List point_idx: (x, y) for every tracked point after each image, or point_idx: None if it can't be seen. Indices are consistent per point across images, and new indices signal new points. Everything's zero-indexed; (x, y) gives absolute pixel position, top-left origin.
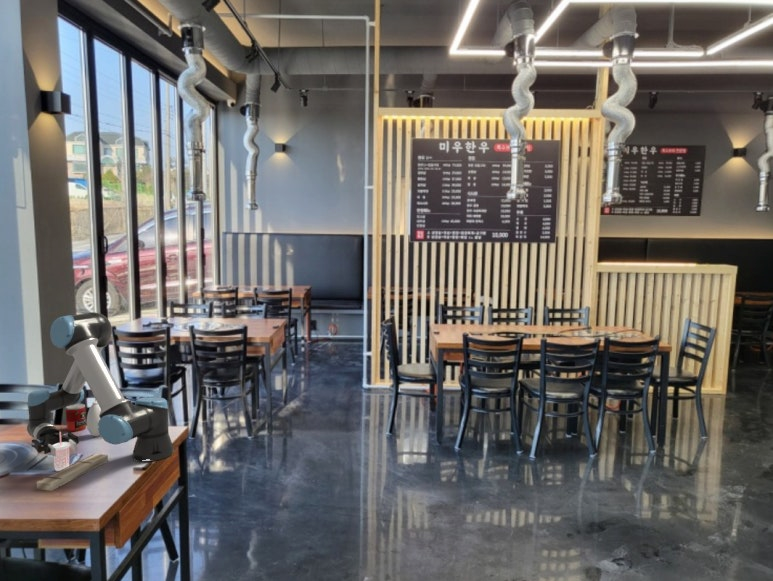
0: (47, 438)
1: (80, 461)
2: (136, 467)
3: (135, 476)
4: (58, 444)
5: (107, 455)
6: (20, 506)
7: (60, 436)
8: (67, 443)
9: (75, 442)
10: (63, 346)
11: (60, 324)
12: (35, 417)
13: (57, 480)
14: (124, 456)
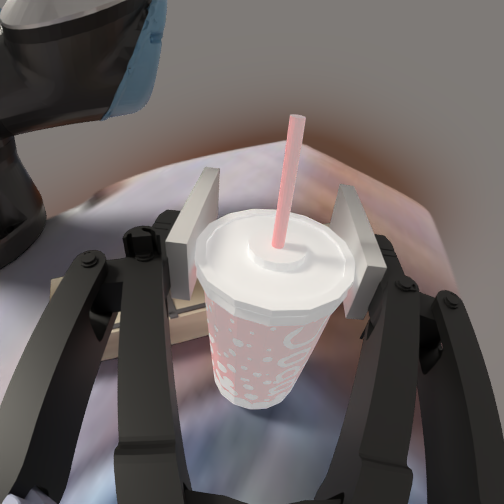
0: (383, 464)
1: (169, 307)
2: (86, 205)
3: (139, 177)
4: (295, 253)
5: (53, 279)
6: (412, 226)
7: (290, 165)
8: (215, 248)
9: (172, 211)
10: None
11: None
12: None
13: (327, 223)
14: (5, 292)
